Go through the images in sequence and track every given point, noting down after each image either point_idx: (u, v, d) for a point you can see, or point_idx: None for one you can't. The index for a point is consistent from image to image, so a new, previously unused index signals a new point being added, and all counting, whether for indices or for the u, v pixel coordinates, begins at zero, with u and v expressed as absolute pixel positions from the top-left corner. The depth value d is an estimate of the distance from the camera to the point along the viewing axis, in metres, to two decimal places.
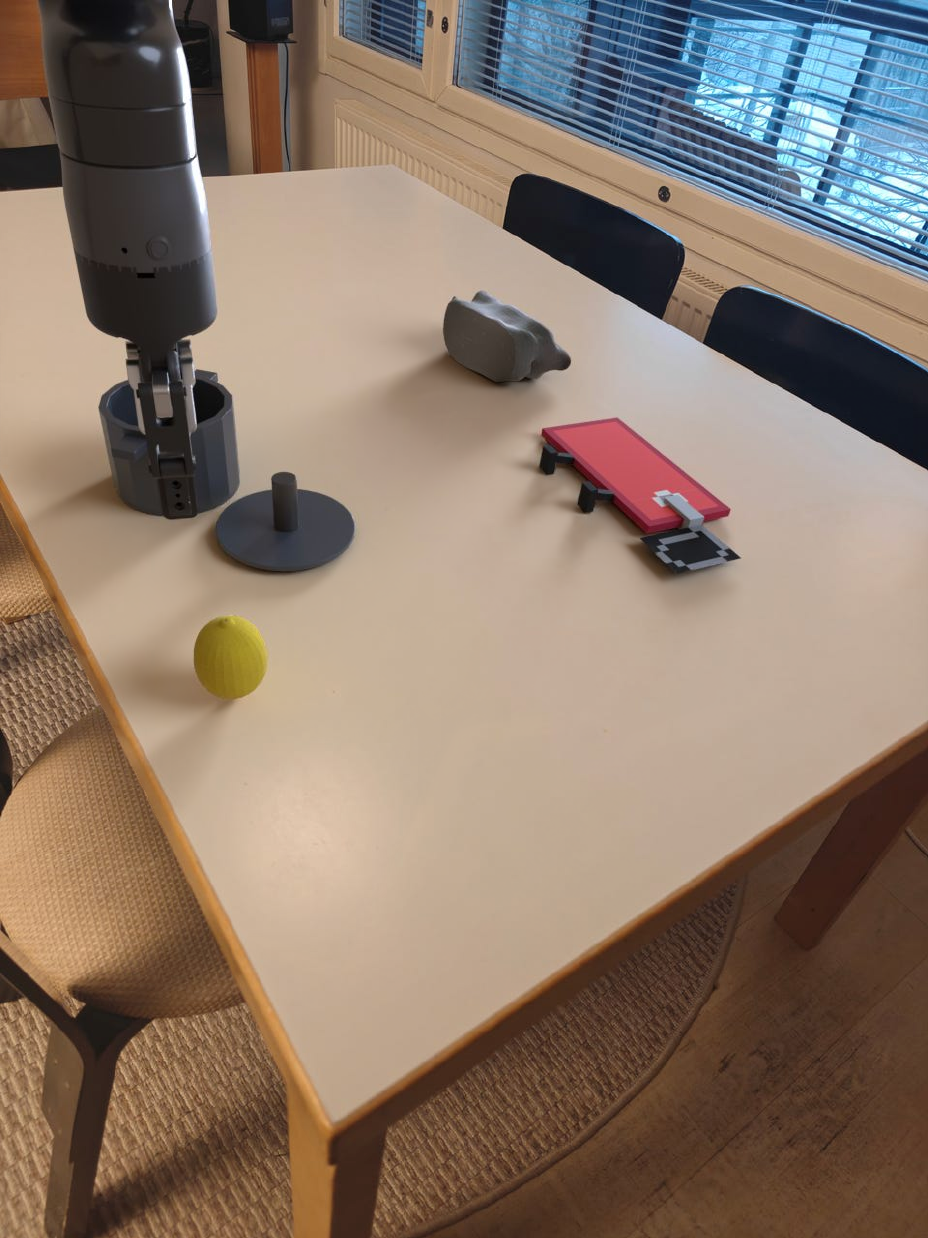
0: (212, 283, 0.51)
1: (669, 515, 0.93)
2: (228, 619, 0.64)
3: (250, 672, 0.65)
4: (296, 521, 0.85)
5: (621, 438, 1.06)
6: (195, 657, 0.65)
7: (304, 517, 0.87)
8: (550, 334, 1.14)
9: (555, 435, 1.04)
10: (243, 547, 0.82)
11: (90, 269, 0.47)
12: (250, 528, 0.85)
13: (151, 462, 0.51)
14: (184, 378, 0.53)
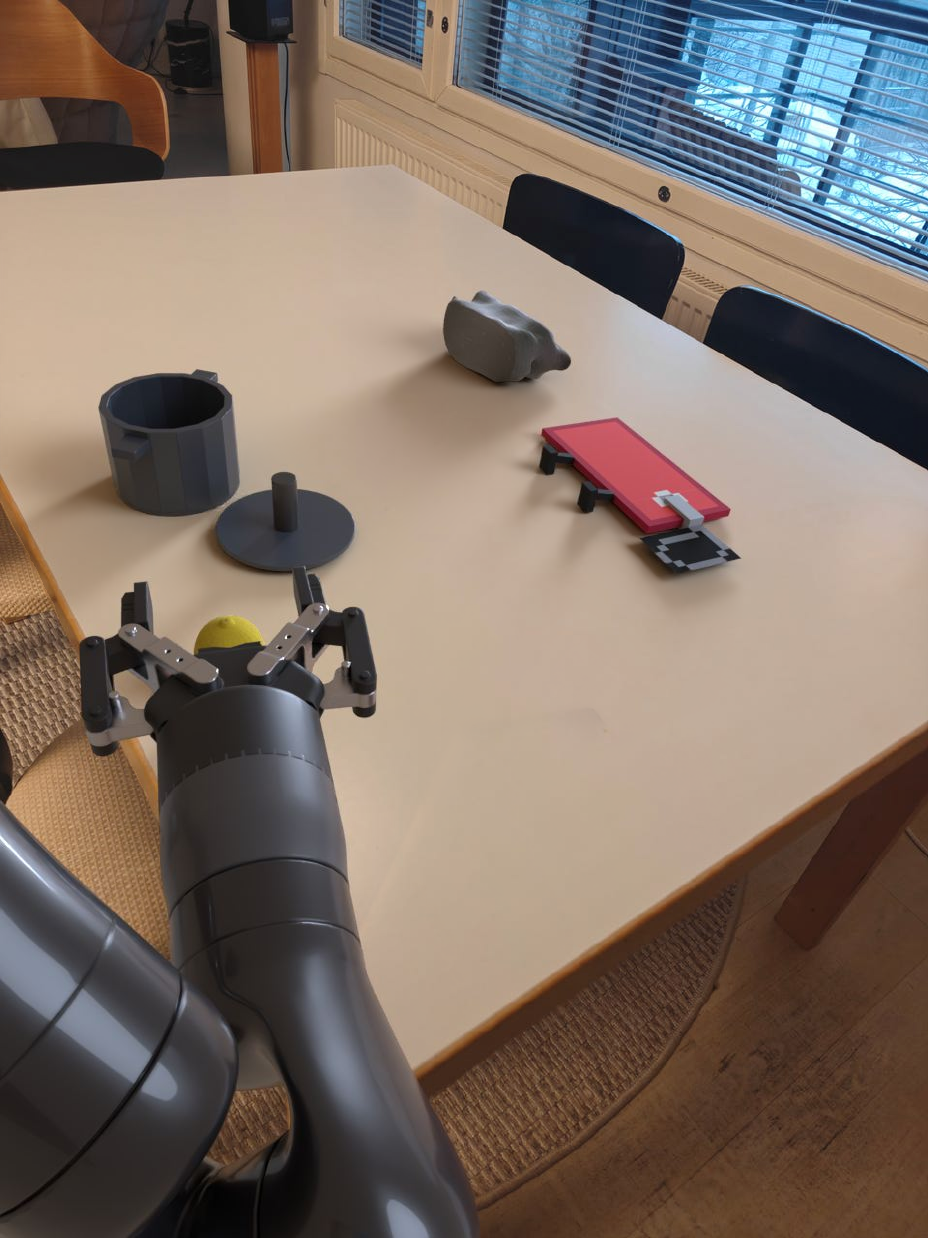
0: None
1: (669, 515, 0.93)
2: (228, 619, 0.64)
3: None
4: (296, 521, 0.85)
5: (621, 438, 1.06)
6: None
7: (304, 517, 0.87)
8: (550, 334, 1.14)
9: (555, 435, 1.04)
10: (243, 547, 0.82)
11: (184, 768, 0.35)
12: (250, 528, 0.85)
13: None
14: None
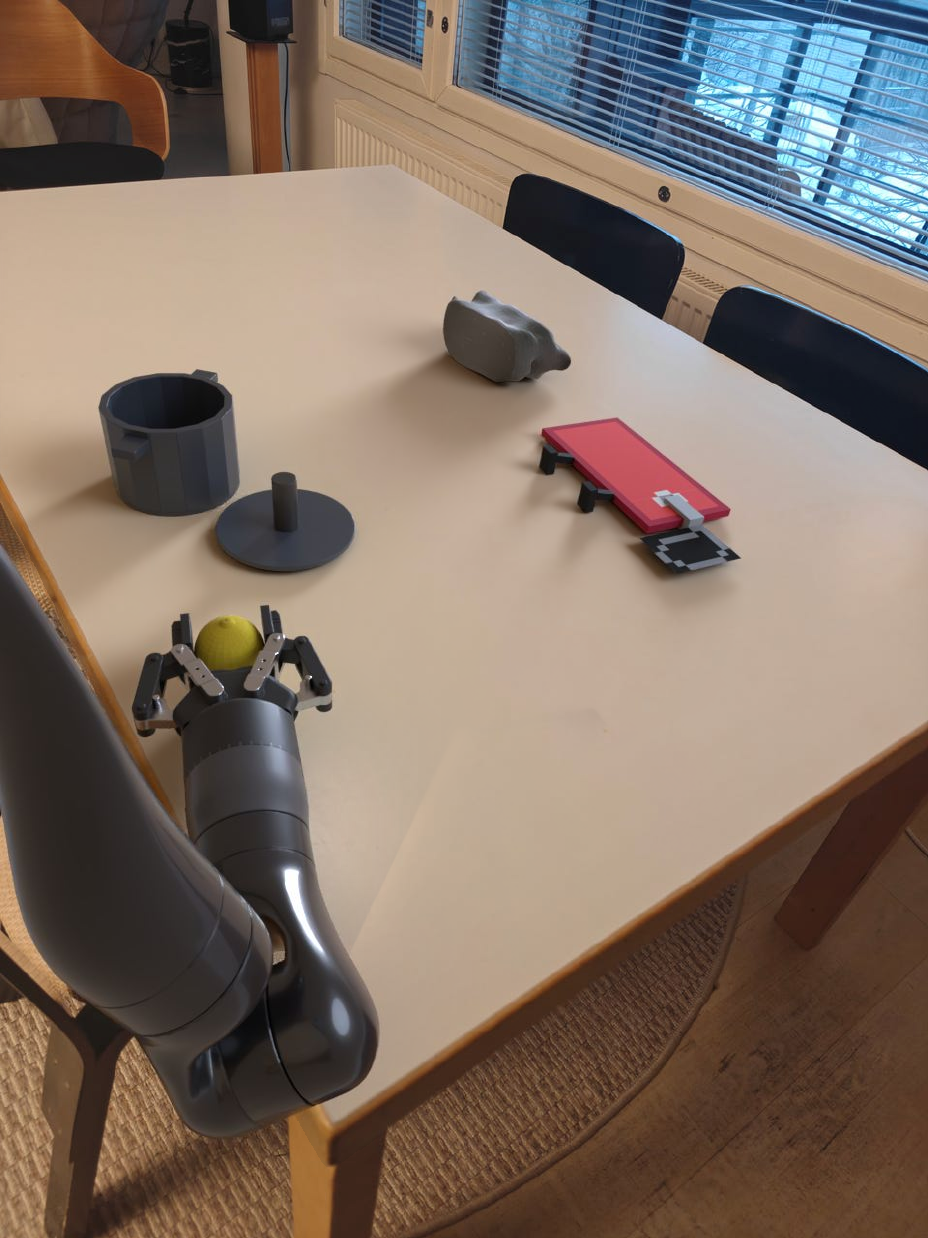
0: None
1: (669, 515, 0.93)
2: (228, 619, 0.64)
3: None
4: (296, 521, 0.85)
5: (621, 438, 1.06)
6: None
7: (304, 517, 0.87)
8: (550, 334, 1.14)
9: (555, 435, 1.04)
10: (243, 547, 0.82)
11: (201, 753, 0.54)
12: (250, 528, 0.85)
13: (143, 666, 0.61)
14: None
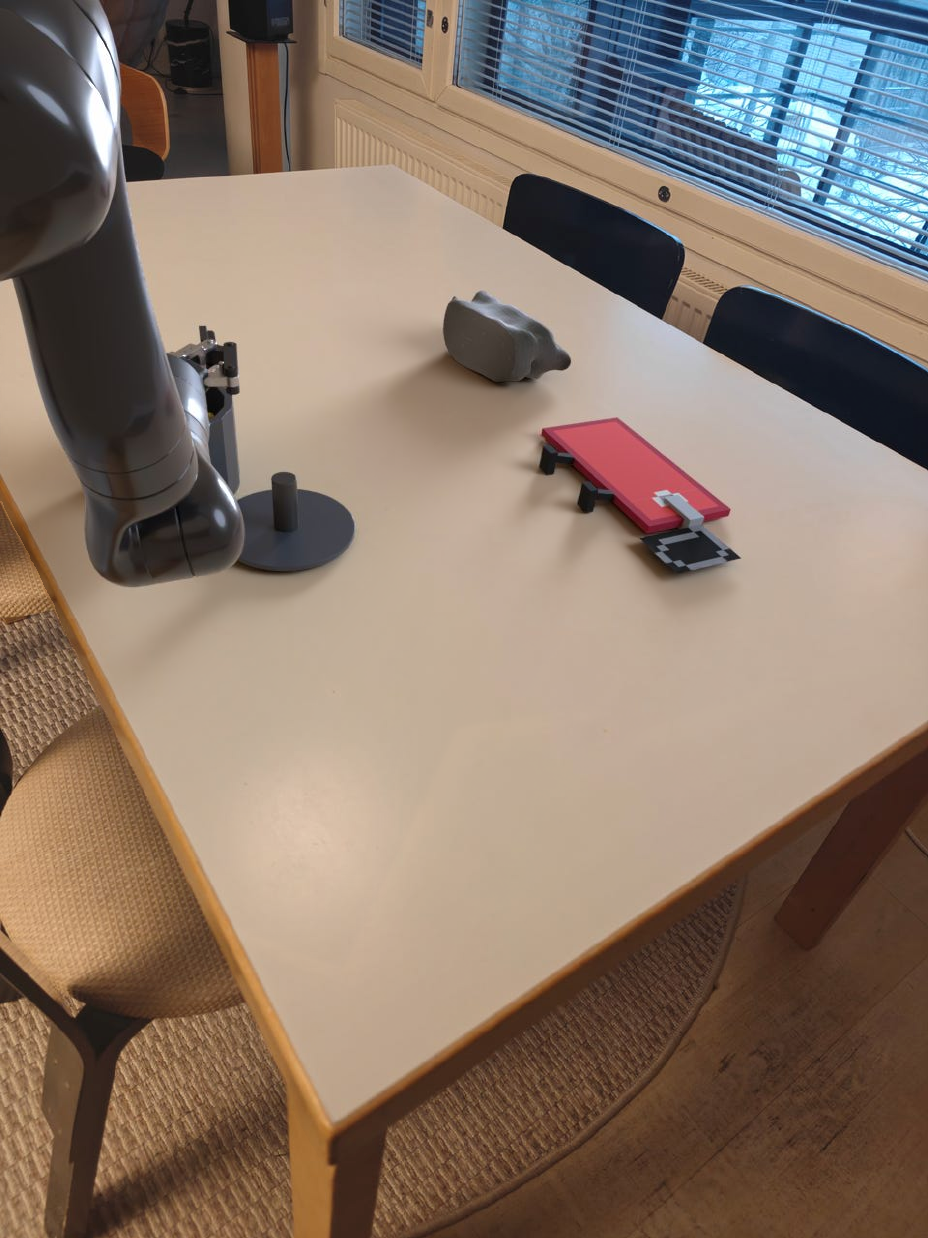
0: None
1: (669, 515, 0.93)
2: (212, 414, 0.87)
3: None
4: (296, 521, 0.85)
5: (621, 438, 1.06)
6: None
7: (304, 517, 0.87)
8: (550, 334, 1.14)
9: (555, 435, 1.04)
10: None
11: None
12: (250, 528, 0.85)
13: None
14: None
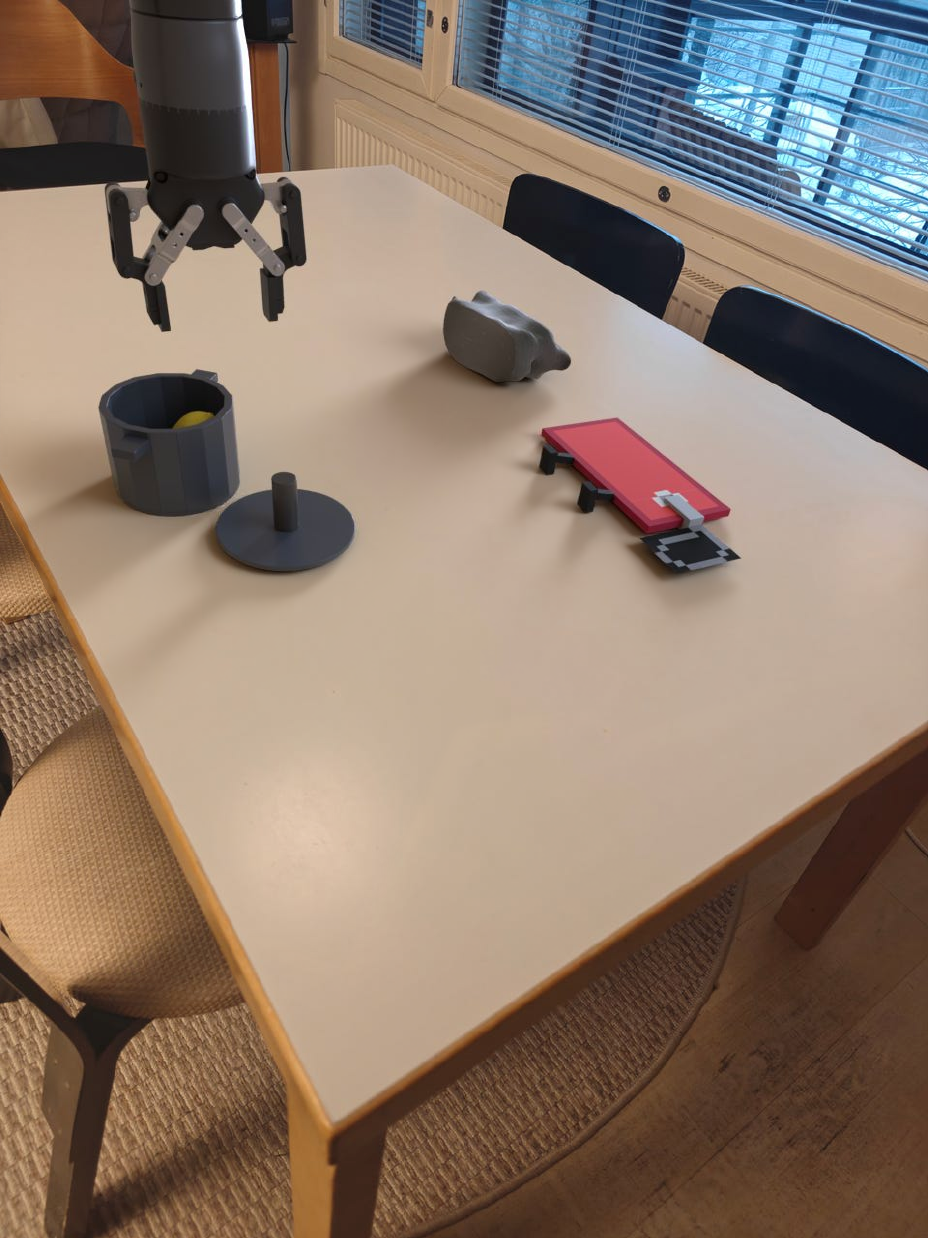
0: None
1: (669, 515, 0.93)
2: (212, 414, 0.87)
3: None
4: (296, 521, 0.85)
5: (621, 438, 1.06)
6: None
7: (304, 517, 0.87)
8: (550, 334, 1.14)
9: (555, 435, 1.04)
10: (243, 547, 0.82)
11: (241, 116, 0.58)
12: (250, 528, 0.85)
13: (305, 247, 0.68)
14: None
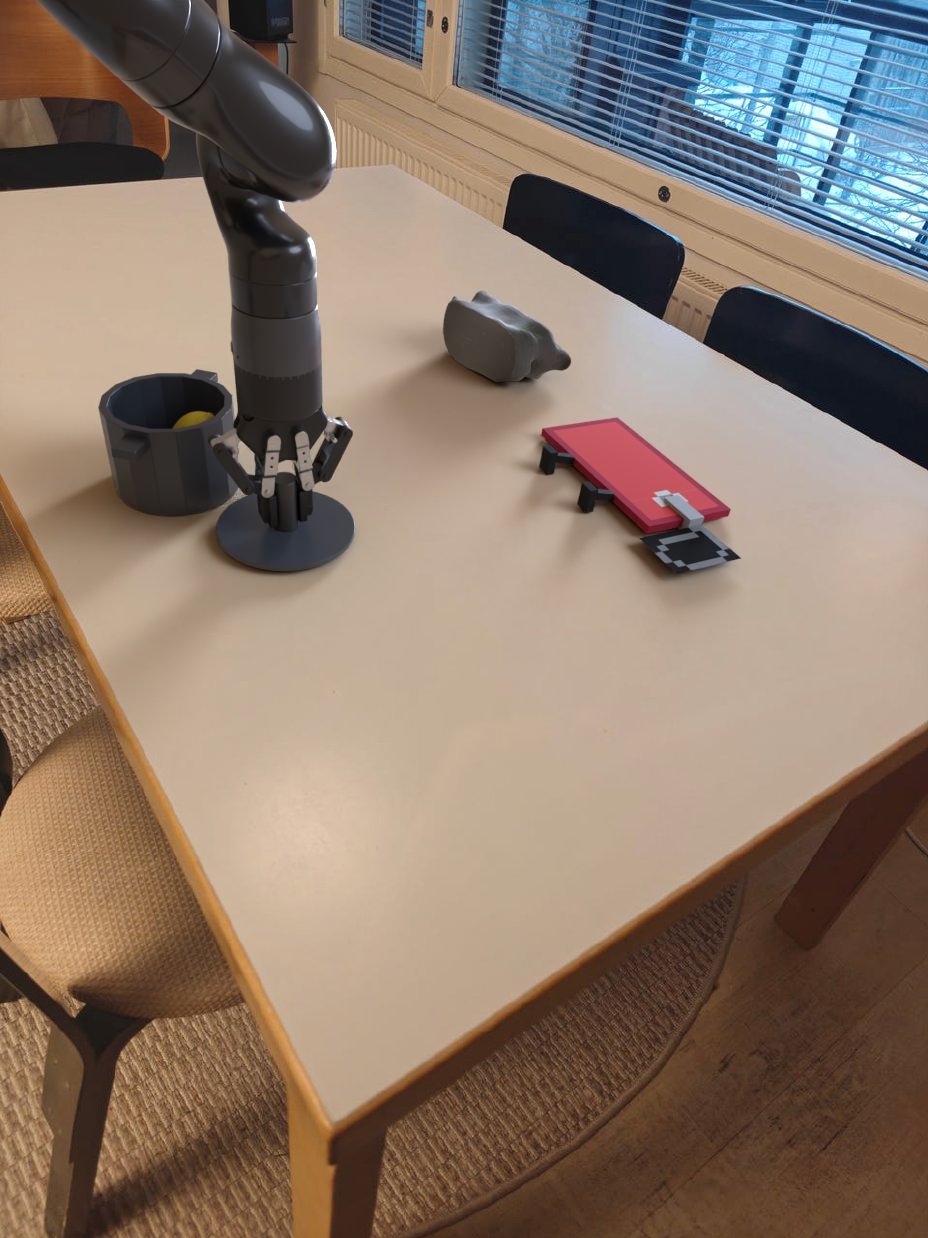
0: None
1: (669, 515, 0.93)
2: (212, 414, 0.87)
3: None
4: (296, 521, 0.85)
5: (621, 438, 1.06)
6: None
7: None
8: (550, 334, 1.14)
9: (555, 435, 1.04)
10: (243, 547, 0.82)
11: (315, 374, 0.74)
12: (250, 528, 0.85)
13: (334, 471, 0.83)
14: None
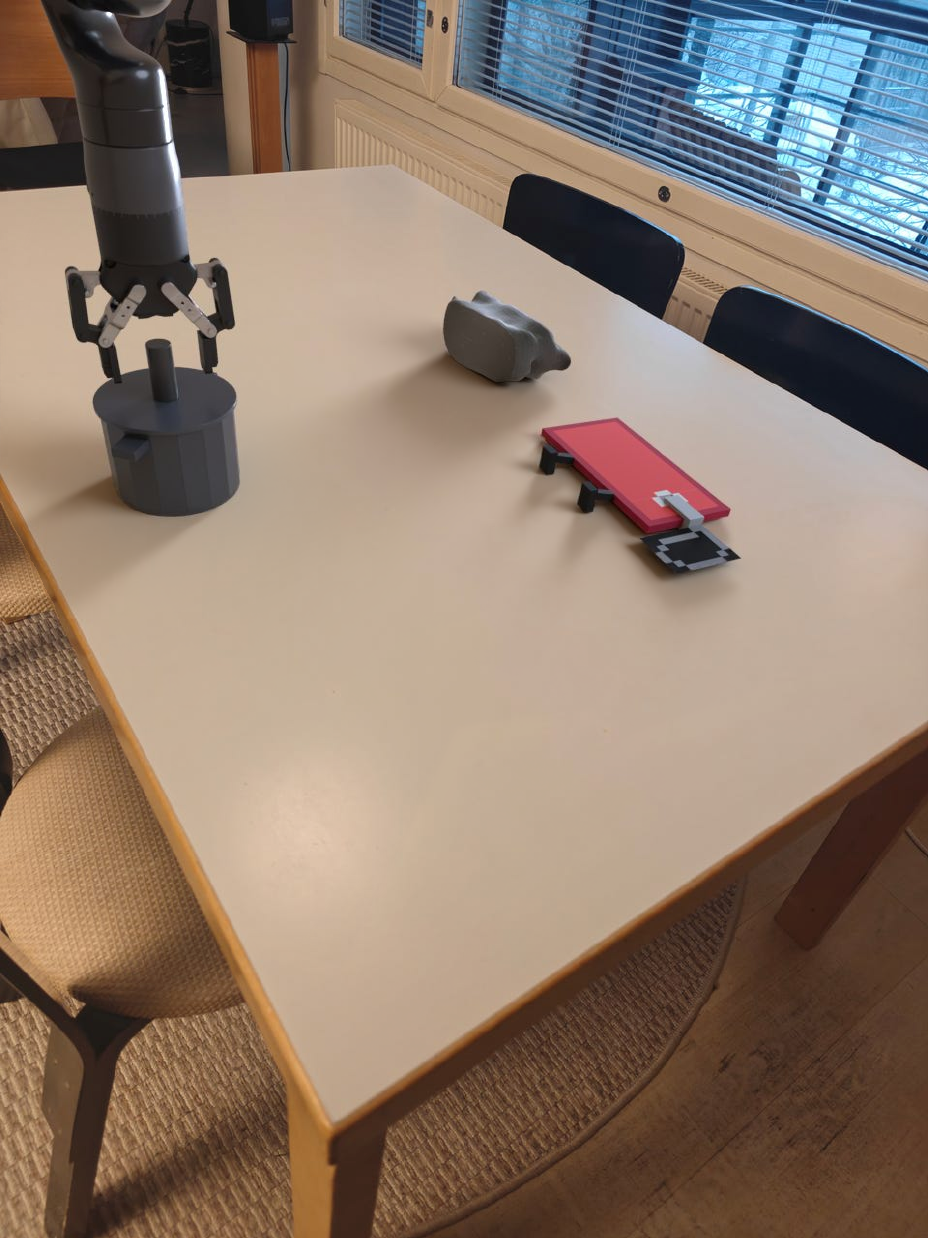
0: None
1: (669, 515, 0.93)
2: None
3: None
4: (174, 391, 0.84)
5: (621, 438, 1.06)
6: None
7: (185, 390, 0.86)
8: (550, 334, 1.14)
9: (555, 435, 1.04)
10: (117, 413, 0.82)
11: (174, 216, 0.73)
12: (128, 398, 0.84)
13: (233, 314, 0.82)
14: None
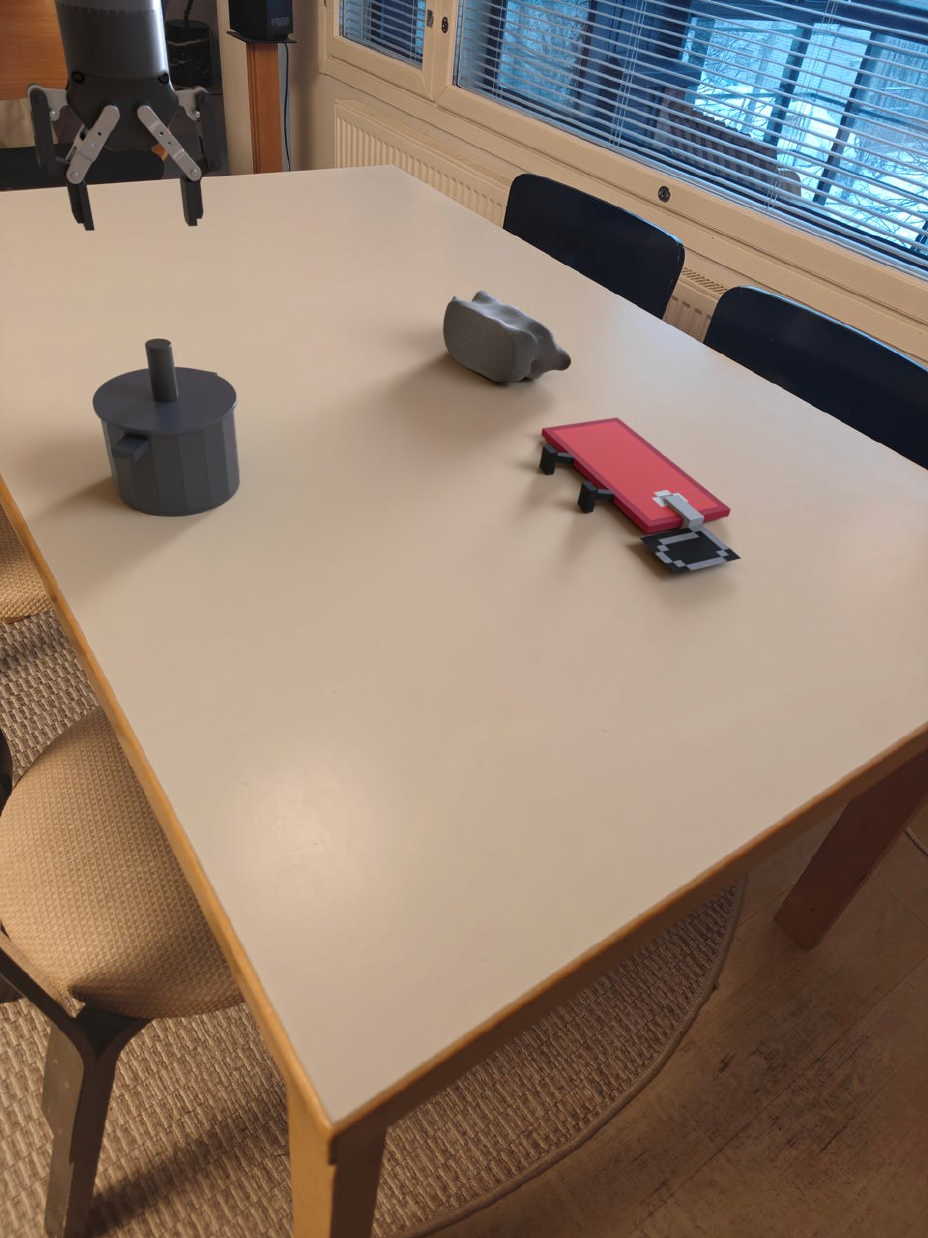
0: None
1: (669, 515, 0.93)
2: None
3: None
4: (174, 391, 0.84)
5: (621, 438, 1.06)
6: None
7: (185, 390, 0.86)
8: (550, 334, 1.14)
9: (555, 435, 1.04)
10: (117, 413, 0.82)
11: (150, 19, 0.64)
12: (128, 398, 0.84)
13: None
14: None
